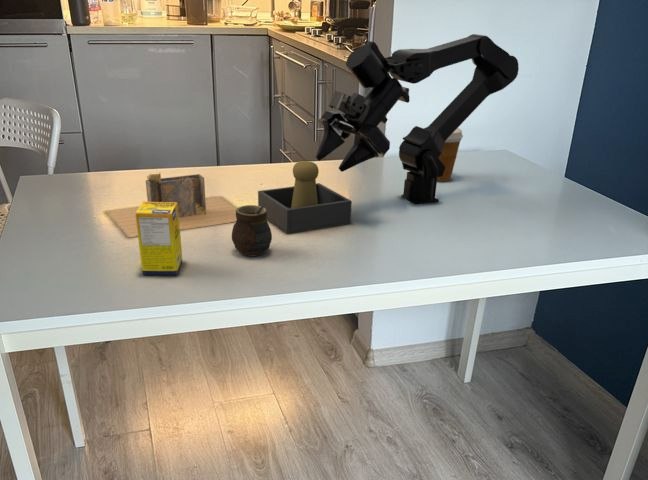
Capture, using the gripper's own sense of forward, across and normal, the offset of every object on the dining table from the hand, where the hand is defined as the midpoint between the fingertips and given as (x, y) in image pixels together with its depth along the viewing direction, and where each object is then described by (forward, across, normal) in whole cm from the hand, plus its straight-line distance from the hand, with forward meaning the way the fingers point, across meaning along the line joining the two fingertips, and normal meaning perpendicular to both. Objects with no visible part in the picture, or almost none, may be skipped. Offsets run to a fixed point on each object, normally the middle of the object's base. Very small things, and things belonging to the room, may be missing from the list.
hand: (328, 164), depth 137 cm
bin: (+11, 0, +4) cm, 12 cm away
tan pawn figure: (+11, 0, +3) cm, 12 cm away
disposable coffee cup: (-20, -12, +36) cm, 43 cm away
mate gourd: (+24, +12, -9) cm, 28 cm away
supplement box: (+36, +13, -21) cm, 43 cm away
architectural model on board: (+28, -12, -13) cm, 33 cm away
